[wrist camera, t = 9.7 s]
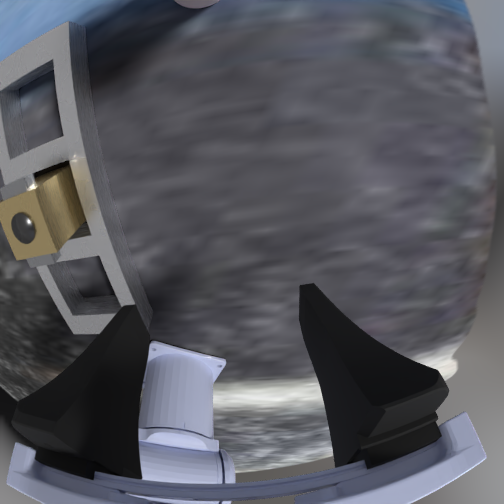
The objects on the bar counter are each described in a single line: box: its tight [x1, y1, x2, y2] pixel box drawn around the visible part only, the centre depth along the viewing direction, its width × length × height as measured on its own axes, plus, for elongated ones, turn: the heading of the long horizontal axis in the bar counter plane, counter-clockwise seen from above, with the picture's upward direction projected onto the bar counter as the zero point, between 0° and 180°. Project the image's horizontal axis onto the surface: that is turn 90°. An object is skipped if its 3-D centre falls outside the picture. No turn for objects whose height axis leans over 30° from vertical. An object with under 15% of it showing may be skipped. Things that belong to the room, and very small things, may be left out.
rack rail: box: [0, 21, 153, 334], centre depth 16 cm, size 24×8×2 cm, turn 6°
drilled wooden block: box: [0, 165, 86, 268], centre depth 15 cm, size 6×4×6 cm
